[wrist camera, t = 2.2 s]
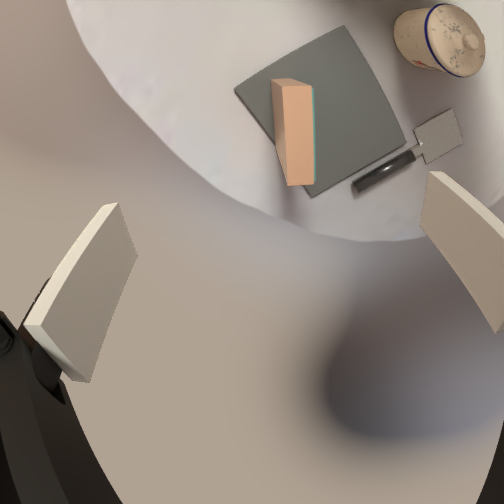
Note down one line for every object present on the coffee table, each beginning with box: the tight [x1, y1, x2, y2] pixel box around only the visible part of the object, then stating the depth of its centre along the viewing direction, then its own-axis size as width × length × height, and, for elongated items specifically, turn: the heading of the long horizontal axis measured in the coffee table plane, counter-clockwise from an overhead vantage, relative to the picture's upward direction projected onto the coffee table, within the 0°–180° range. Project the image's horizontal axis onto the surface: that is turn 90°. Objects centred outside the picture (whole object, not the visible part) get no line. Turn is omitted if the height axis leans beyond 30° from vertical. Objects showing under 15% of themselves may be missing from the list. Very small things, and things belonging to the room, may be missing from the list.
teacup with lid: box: [394, 4, 485, 77], centre depth 21 cm, size 12×9×12 cm
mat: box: [234, 26, 406, 197], centre depth 33 cm, size 18×16×1 cm
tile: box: [270, 78, 316, 186], centre depth 28 cm, size 3×9×12 cm, turn 6°
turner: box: [352, 108, 463, 193], centre depth 35 cm, size 20×6×2 cm, turn 125°
